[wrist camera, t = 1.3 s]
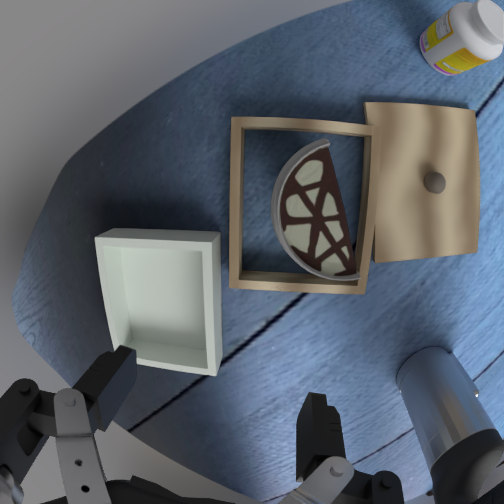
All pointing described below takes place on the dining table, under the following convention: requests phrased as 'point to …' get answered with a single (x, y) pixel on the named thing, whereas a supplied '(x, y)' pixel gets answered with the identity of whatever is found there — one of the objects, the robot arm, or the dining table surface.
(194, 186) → the dining table surface
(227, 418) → the dining table surface
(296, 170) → the food container
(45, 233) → the dining table surface
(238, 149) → the bin frame
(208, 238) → the bin
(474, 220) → the bin lid
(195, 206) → the dining table surface
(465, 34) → the supplement bottle
